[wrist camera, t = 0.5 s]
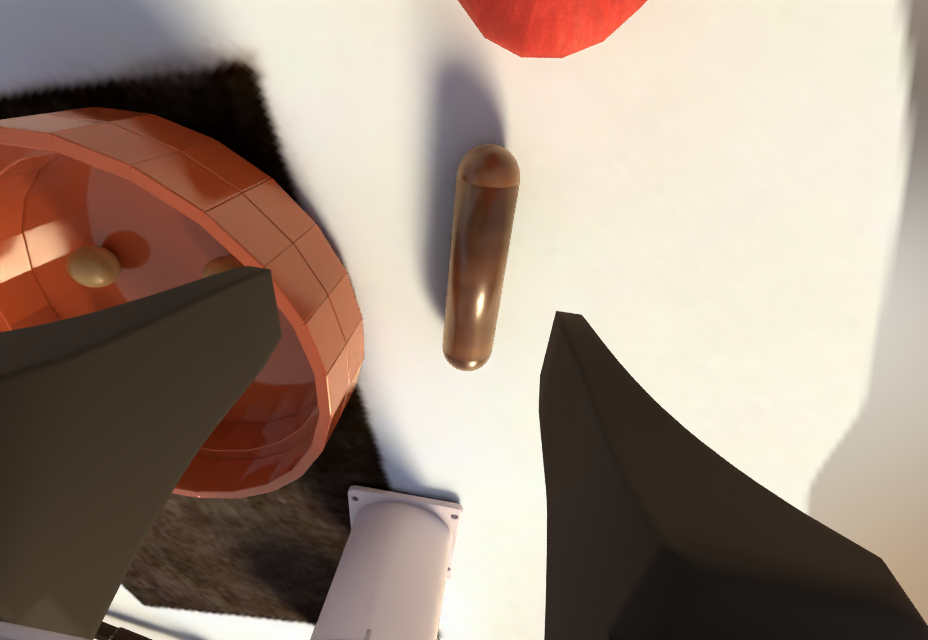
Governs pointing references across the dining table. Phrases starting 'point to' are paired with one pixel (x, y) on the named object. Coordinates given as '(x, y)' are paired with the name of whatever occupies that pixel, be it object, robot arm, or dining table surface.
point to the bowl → (182, 269)
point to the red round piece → (548, 23)
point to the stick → (478, 253)
